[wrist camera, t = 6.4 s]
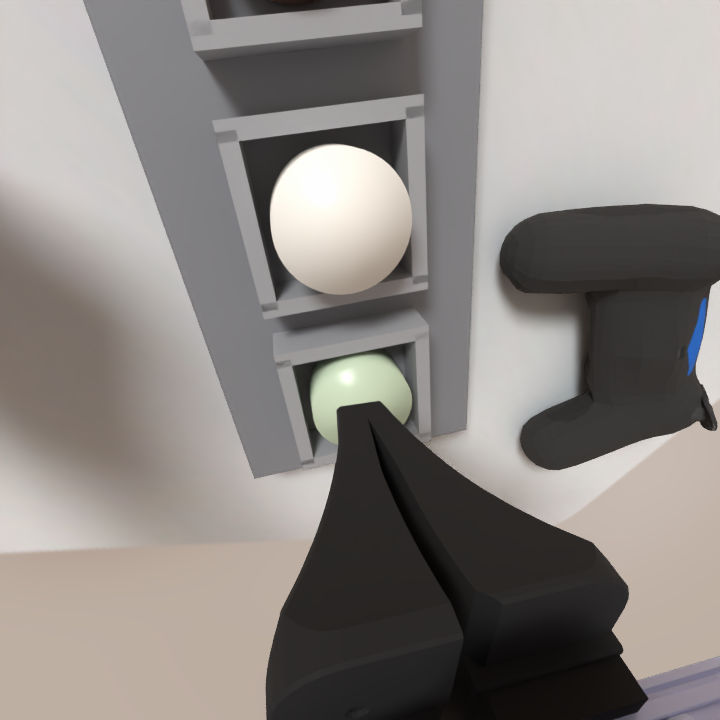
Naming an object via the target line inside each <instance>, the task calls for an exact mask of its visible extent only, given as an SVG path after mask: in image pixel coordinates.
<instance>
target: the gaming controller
mask: <svg viewBox="0 0 720 720" xmlns="http://www.w3.org/2000/svg"><path fill="white" fill-rule="evenodd" d="M500 265H501V268H502V271H503V273H504V274H505V275H506V276H507V277H508V278H509V280H510V281H511V282H512V283H513V285H514V286H515V287H516V289H518V290H520V291H523V292H525V293H552V294H561V293H578V292H586V298H587V302H588V305H589V309H590V341H589V359H588V360H587V362H586V364H585V372H586V377H587V383H588V386H589V388H590V390H589V391H587V392H586V393H584V394H582V395H580V396H577V397H575V398H573V399H570V400H568V401H566V402H563V403H561V404H558V405H556V406H554V407H551V408H549V409H547V410H545V411H543V412H541V413H539V414H538V415H536V416H534V417H532V418H531V419H530V420H529V421H528V422H527V423H526V424H525V425H524V427H523V431H522V435H521V445H522V448H523V450H524V453H525V454H526V456H527V457H528V458H529V459H530V460H531V461H532V462H533V463H535V464H536V465H538V466H540V467H543V468H545V469H548V470H561V469H565V468H568V467H572V466H576V465H579V464H581V463H584V462H587V461H589V460H592V459H595V458H597V457H600V456H602V455H605V454H608V453H610V452H613V451H615V450H618V449H620V448H622V447H625V446H627V445H630V444H633V443H636V442H638V441H641V440H645V439H648V438H652V437H656V436H662V435H667V434H673V433H675V432H677V431H680V430H682V429H684V428H687V427H689V426H691V425H692V424H693V423H695V422H696V421H700V423H701V425H702V426H703V427H704V428H706V429H707V430H711V431H715V430H716V429H717V421H716V418H715V415H714V412H713V409H712V406H711V405H710V403H709V399H708V396H707V394H706V391H705V389H704V387H703V385H702V384H700V383H699V381H698V379H697V376H696V360H697V357H698V353H699V350H700V346H701V342H702V338H703V333H704V328H705V323H706V316H707V308H708V301H709V293H710V288H711V286H712V285H713V284H715V283H716V282H717V281H719V280H720V216H719V215H717V214H715V213H713V212H711V211H708V210H705V209H701V208H697V207H693V206H678V205H658V204H639V205H622V206H605V207H592V208H582V209H572V210H563V211H555V212H547V213H540V214H537V215H535V216H532V217H530V218H527V219H525V220H523V221H522V222H520V223H519V224H517V225H516V226H515V227H514V228H513V229H512V230H511V231H510V232H509V234H508V235H507V236H506V238H505V240H504V242H503V244H502V247H501V252H500Z"/></svg>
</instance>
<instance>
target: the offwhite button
mask: <svg viewBox="0 0 720 720" xmlns="http://www.w3.org/2000/svg"><path fill="white" fill-rule="evenodd" d="M270 224H271V233H272V239H273V243H274V246H275V249H276V251H277V254H278V256H279V258H280V259H281V261H282V263H283V264H284V266H285V267H286V268H287V270H288V271H289V272H290V273H291V274H292V275H293V276H294V277H295V278H296V279H297V280H299V281H300V282H301V283H303V284H304V285H306V286H308V287H310V288H312V289H314V290H317V291H319V292H323V293H327V294H334V295H345V294H353V293H357V292H361V291H363V290H366V289H369V288H370V287H372V286H374V285H376V284H378V283H379V282H380V281H382V280H383V279H384V278H386V277H387V276H388V275H389V274H390V273H391V272H392V271H393V270H394V268H395V267H396V266H397V264H398V263H399V262H400V260H401V258H402V257H403V255H404V253H405V251H406V248H407V246H408V243H409V239H410V235H411V229H412V209H411V203H410V199H409V196H408V193H407V190H406V188H405V186H404V184H403V182H402V180H401V179H400V177H399V176H398V174H397V173H396V172H395V170H394V169H393V168H392V167H391V166H390V165H389V164H388V163H386V162H385V161H384V160H383V159H381V158H380V157H378V156H376V155H375V154H373V153H371V152H368V151H366V150H363V149H359V148H356V147H352V146H348V145H344V144H336V143H330V144H321V145H317V146H314V147H311V148H308V149H306V150H304V151H302V152H301V153H299V154H298V155H296V156H295V157H294V158H292V159H291V160H290V161H289V162H288V164H287V165H286V166H285V167H284V168H283V170H282V171H281V172H280V174H279V176H278V178H277V180H276V182H275V185H274V187H273V190H272V194H271V199H270Z"/></svg>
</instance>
